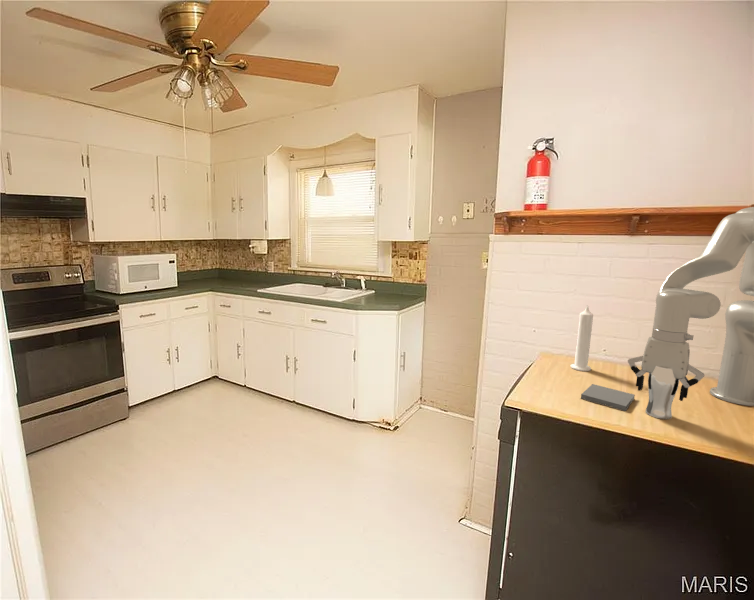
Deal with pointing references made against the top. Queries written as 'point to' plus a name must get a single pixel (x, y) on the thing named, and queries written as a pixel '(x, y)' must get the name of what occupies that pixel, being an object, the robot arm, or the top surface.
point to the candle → (583, 341)
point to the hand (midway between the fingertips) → (660, 394)
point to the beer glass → (661, 392)
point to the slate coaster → (608, 397)
